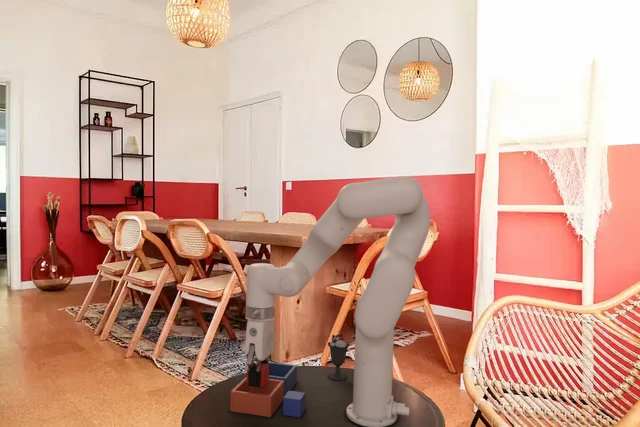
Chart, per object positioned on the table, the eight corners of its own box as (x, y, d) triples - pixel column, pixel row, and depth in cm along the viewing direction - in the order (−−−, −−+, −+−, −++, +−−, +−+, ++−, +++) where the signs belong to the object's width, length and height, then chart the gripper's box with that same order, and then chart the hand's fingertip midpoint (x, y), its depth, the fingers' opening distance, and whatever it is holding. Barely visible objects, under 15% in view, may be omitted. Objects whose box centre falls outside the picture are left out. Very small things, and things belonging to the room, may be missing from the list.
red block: (268, 380, 122) (269, 364, 122) (262, 387, 118) (263, 370, 118) (252, 378, 123) (253, 362, 123) (246, 385, 119) (247, 368, 119)
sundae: (347, 382, 138) (348, 332, 137) (324, 380, 139) (326, 330, 138) (350, 374, 144) (351, 326, 144) (328, 372, 145) (330, 324, 145)
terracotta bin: (283, 399, 125) (284, 380, 125) (270, 417, 115) (271, 396, 114) (246, 394, 127) (247, 375, 127) (230, 411, 117) (230, 391, 117)
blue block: (304, 409, 119) (305, 392, 119) (299, 417, 115) (300, 399, 115) (288, 407, 120) (288, 390, 120) (282, 414, 116) (283, 397, 116)
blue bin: (296, 382, 137) (297, 365, 136) (285, 397, 126) (286, 378, 126) (262, 378, 139) (262, 361, 139) (248, 392, 129) (249, 373, 129)
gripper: (262, 321, 111) (260, 397, 112) (284, 306, 127) (282, 372, 128) (233, 318, 113) (230, 393, 113) (258, 303, 129) (256, 369, 130)
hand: (258, 381), depth 121 cm, fingers closed on red block, 4 cm apart
